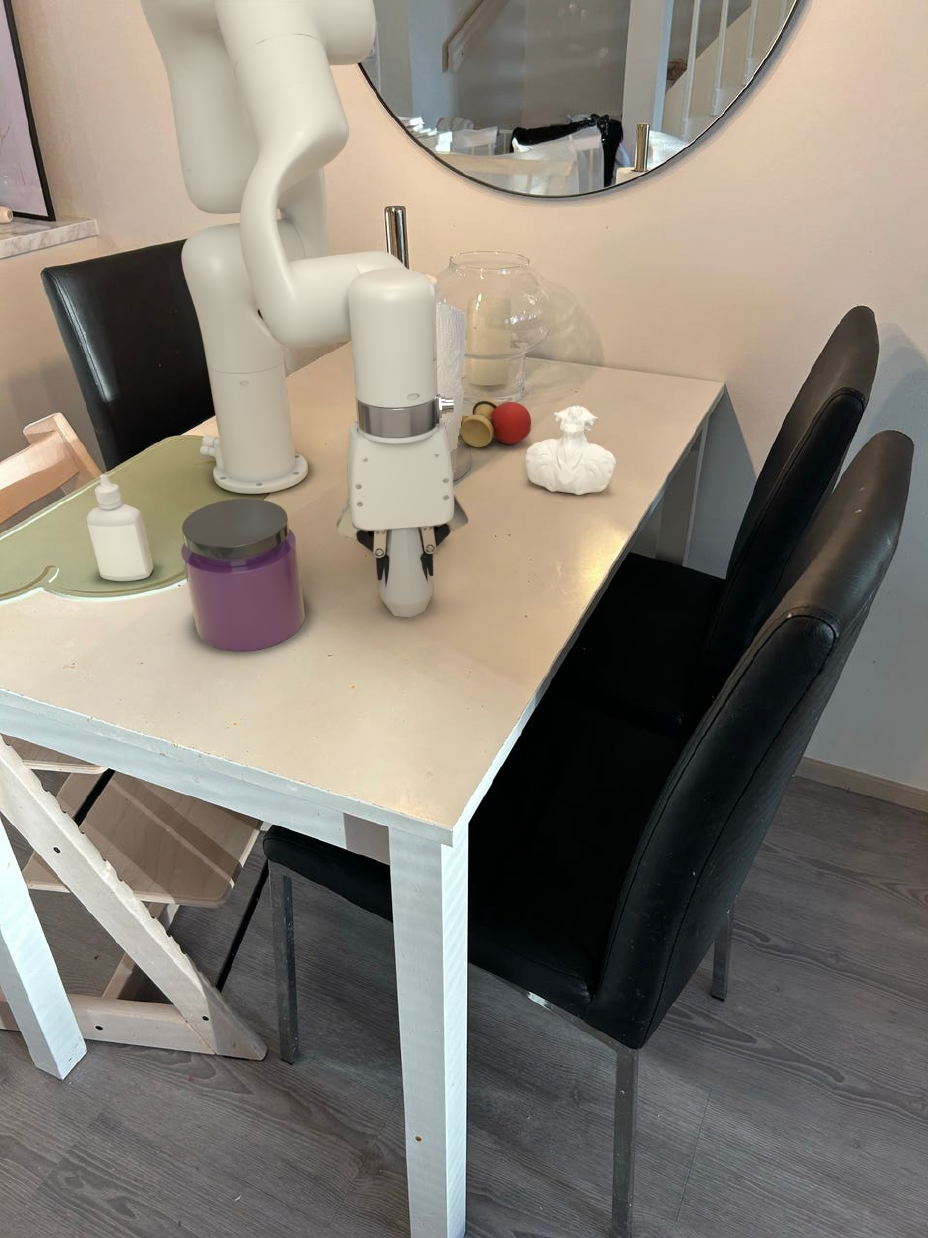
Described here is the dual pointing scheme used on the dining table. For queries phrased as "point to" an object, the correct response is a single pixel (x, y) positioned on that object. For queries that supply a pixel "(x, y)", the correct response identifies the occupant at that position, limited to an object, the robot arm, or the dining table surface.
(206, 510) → the jar
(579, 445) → the bust
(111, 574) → the eye dropper bottle
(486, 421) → the kendama
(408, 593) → the salt shaker
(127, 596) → the dining table surface
